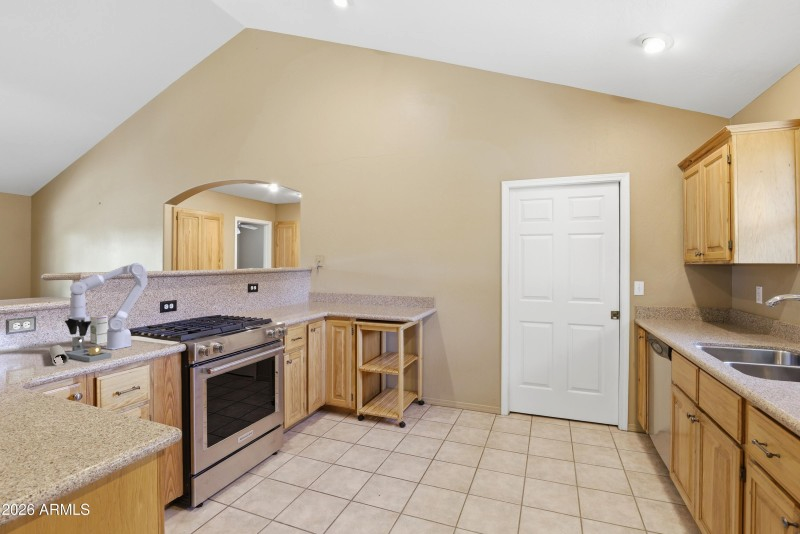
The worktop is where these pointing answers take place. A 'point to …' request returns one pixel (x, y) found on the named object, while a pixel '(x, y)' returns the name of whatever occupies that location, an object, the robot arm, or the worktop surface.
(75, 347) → the cylinder
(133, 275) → the robot arm
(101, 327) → the syrup box
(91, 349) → the seated bushing
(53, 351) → the tube
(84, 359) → the jig
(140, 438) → the worktop surface
